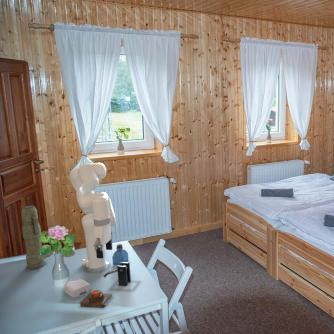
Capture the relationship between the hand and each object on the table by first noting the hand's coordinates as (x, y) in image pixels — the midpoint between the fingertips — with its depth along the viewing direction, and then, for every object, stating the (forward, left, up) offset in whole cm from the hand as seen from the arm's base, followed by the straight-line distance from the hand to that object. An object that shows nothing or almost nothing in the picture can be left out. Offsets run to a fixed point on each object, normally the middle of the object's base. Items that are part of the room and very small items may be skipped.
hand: (104, 253), depth 193 cm
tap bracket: (+9, +1, -18) cm, 20 cm away
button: (+2, -15, -14) cm, 21 cm away
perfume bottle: (-3, +23, -18) cm, 29 cm away
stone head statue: (-51, +18, -18) cm, 57 cm away
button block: (+2, -15, -18) cm, 23 cm away
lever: (+5, +1, -11) cm, 12 cm away
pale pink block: (-14, -6, -18) cm, 23 cm away
